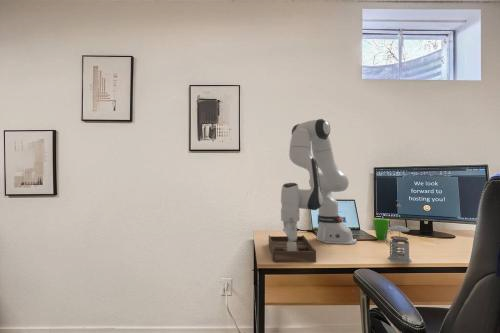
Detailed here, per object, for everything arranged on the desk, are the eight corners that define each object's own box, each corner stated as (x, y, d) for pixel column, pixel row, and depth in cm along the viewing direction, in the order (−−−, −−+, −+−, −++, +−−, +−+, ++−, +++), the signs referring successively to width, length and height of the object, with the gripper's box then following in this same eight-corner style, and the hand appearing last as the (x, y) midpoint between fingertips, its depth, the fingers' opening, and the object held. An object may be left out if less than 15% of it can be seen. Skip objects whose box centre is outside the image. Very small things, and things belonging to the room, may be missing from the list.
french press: (404, 264, 123) (403, 205, 124) (379, 257, 133) (378, 203, 133) (416, 260, 128) (415, 204, 129) (391, 254, 138) (391, 202, 139)
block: (286, 250, 137) (286, 241, 137) (295, 250, 137) (295, 241, 137) (288, 252, 133) (287, 243, 133) (296, 252, 133) (296, 243, 133)
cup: (373, 240, 167) (372, 221, 167) (372, 236, 175) (372, 218, 175) (390, 241, 163) (390, 222, 163) (389, 237, 172) (389, 219, 172)
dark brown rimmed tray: (268, 244, 157) (268, 235, 157) (303, 244, 157) (303, 235, 157) (273, 262, 127) (273, 250, 127) (316, 261, 127) (316, 250, 127)
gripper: (300, 220, 128) (300, 251, 128) (293, 213, 149) (293, 240, 149) (286, 220, 128) (286, 251, 128) (281, 213, 149) (281, 240, 149)
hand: (290, 245), depth 138 cm, fingers closed
